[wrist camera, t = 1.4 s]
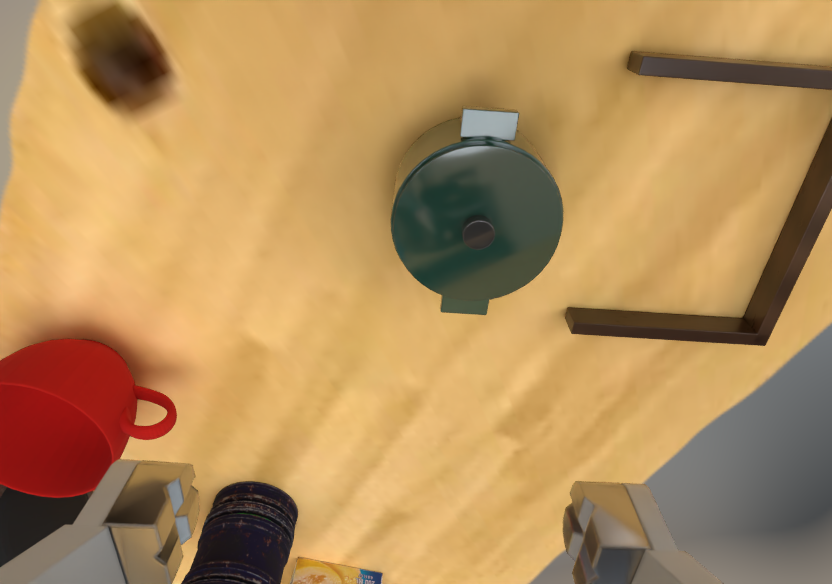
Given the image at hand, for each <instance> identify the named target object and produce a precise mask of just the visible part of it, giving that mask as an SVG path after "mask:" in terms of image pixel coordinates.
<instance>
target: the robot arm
mask: <svg viewBox="0 0 832 584" xmlns="http://www.w3.org/2000/svg"><path fill="white" fill-rule="evenodd" d="M194 478H195V473H194V469H193V465H191V464H185V463H171V462H157V461H144V460H142V461H139V460H124V459H118V460H116V461H115V462H114V463H113V464H111V465H110V467H109V469H108V470H107V472H106V473H105V475H104V476H103V478H102V479H101V481H100V483H99V484H98V486H97V487H96V489H95V490H94V492H93V493H92V495H91V497H90V498H89V500H88V501H87V503H86V504H85V506H84V507H83V509H82V511H81V512H80V514H79V515H78V517H77V518H76V520H75V521H74V523H73V525H64V526H62V527H61V528H59V529H57V530H56V531H54V532H53V533H51V534H50V535H48V536H47V537H45V538H44V539H42V540H41V541H39V542H38V543H36V544H35V545H33V546H32V547H30V548H29V549H27V550H26V551H24V552H23V553H21V554H20V555H18V556H17V557H15V558H14V559H12V560H11V561H9V562H8V563H6V564H5V565H3V566H2V567H0V584H172V583H173V580H174V578H175V576H176V573H177V571H178V568H179V566H180V563H181V561H182V559H183V553H182V548H181V545H182V544H183V543H185V542H186V541H187V540H188V539H190V538H191V537H192V534H193V531H194V529H195V526H196V523H197V518H198V514H199V494H198V490H196V489H195V488H194V487H193V486H192V482H193V480H194ZM570 496H571V499H572V503H571V504H570V505H569V506H567V507H566V509H565V513H564V517H563V537H564V543H565V547H566V552H567V554H568V555H569V556H570V557H571V558H572V559H573V560H574V561H575V565H574V569H573V572H572V574H573V578H574V582H575V584H723V583H722V582H721V581H720V580H719V579H718V578H716V577H715V576H714V575H713V574H711V573H710V572H709V571H708V570H707V569H706V568H705V567H703V566H702V565H701V564H700V563H699V562H697V561H696V560H695V559H694V558H693V557H692V556H691V555H689V554H688V553H687V552H685V551H679V550H678V548H677V546H676V544H675V542H674V540H673V537H672V535H671V533H670V531H669V529H668V527H667V525H666V523H665V520H664V518H663V517H662V514H661V512H660V510H659V508H658V506H657V503H656V501H655V499H654V497H653V495H652V493H651V491H650V489H649V487H648V486H647V485H646V484H631V483H621V484H620V483H612V482H583V481H575V483H574V484H573V485H572V488H571V491H570Z"/></svg>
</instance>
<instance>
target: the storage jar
mask: <svg viewBox="0 0 832 584" xmlns="http://www.w3.org/2000/svg"><path fill="white" fill-rule="evenodd" d="M297 517H298V510H297V507H296V504H295V503H294V501H293V500H292V498H291V497H290V496H289V495H287V494H286V493H285V492H283V491H282V490H280V489H278V488H276V487H274V486H271V485H268V484H265V483H260V482H239V483H235V484H232V485H229V486H227V487H225V488H224V489H222V490H221V491H220V492H219V493H218V494H217V496H216V498H215V500H214V503H213V507H212V508H211V511H210V513H209V514H208V516H207V518H206V520H205V523H204V526H203V529H202V534H201V536H200V539H199V541H198V550H197V553H196V556H195V558H194V561H193V563H192V566H191V569H190V571H189V572H188V574H187V575H186V576H185V578H184V580H183V581H182V583H181V584H280V583H281V579H282V574H283V570H284V567H285V565H286V563H287V561H288V558H289V554H290V550H291V547H292V544H293V539H294V530H295V524H296V521H297Z"/></svg>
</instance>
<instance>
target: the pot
mask: <svg viewBox="0 0 832 584" xmlns="http://www.w3.org/2000/svg"><path fill="white" fill-rule="evenodd" d="M518 118H519V112H518V111H517V110H514V109H500V108H487V107H473V106H462V112H461V118H456V119H453V120H449V121H446V122H444V123H441V124H439V125H437V126H435V127H433V128H432V129H430V130H428V131H427V132H426V133H424V134H423V135H422V136H420V137H419V138H418V139H417V140H416V141H415V142H414V143H413V145H412V146H411V147H410V148H409V150H408V151H407V152H406V154H405V156H404V158H403V159H402V161H401V164H400V166H399V168H398V172H397V175H396V180H395V188H394V196H393V205H392V214H391V233H392V239H393V242H394V246H395V249H396V251H397V253H398V255H399V258H400V259H401V261H402V262H403V264H404V265H405V267H406V268H407V270H408V271H409V272H410V273H411V274H412V275H413V277H414V278H416V279H417V280H418V281H419V282H420V283H421V284H423V285H424V286H426V287H427V288H429V289H430V290H432V291H434V292H436V293H438V294H441V305H440V309H441V312H446V313H462V314H478V315H486V314H487V309H488V303H489V299H494V298H498V297H501V296H504V295H507V294H510V293H512V292H514V291H516V290H518V289H520V288H521V287H523V286H525V285H526V284H528V283H529V282H530V281H531V280H533V279H534V278H535V277H536V276H537V275H538V274H539V273H540V272H541V271H542V270H543V269H544V267H545V266H546V265H547V264H548V262H549V261H550V259H551V257H552V256H553V254H554V252H555V250H556V248H557V245H558V242H559V239H560V236H561V232H562V225H563V204H562V198H561V195H560V191H559V188H558V186H557V184H556V182H555V180H554V178H553V177H552V175H551V173H550V172H549V170H548V169H547V167H546V165H545V164H544V162H543V161H542V159H541V157H540V156H539V154H538V153H537V151H536V150H535V148H534V147H533V145H532V144H531V143H530V142H529V140H528V139H527V138H526V137H525V136H524V135H523V134H521V133H520V132H519V131H518V130H517V124H518Z"/></svg>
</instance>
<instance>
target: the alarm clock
mask: <svg viewBox="0 0 832 584" xmlns="http://www.w3.org/2000/svg"><path fill="white" fill-rule="evenodd" d="M92 493H93V491H90V492H88V493H85V494H82V495H78V496H73V497H61V498H54V497H42V496H37V495H32V494H27V493H24V492H20V491H17V490H14V489H11V488H9V487H6V486H4V485H2V484H0V567H2V566H3V565H5V564H6V563H8V562H9V561H11V560H12V559H14V558H15V557H17V556H18V555H20V554H21V553H23V552H24V551H26V550H27V549H29V548H30V547H32V546H33V545H35V544H36V543H38V542H39V541H41V540H42V539H44V538H45V537H47V536H48V535H50V534H51V533H53V532H54V531H56V530H57V529H59V528H61V527H62V526H64V525H73V523H74V521H75V520H76V518H77V517H78V515H79V514H80V512H81V511H82V509H83V507H84V506H85V504H86V503H87V501H88V500H89V498H90V497H91V495H92Z"/></svg>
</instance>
